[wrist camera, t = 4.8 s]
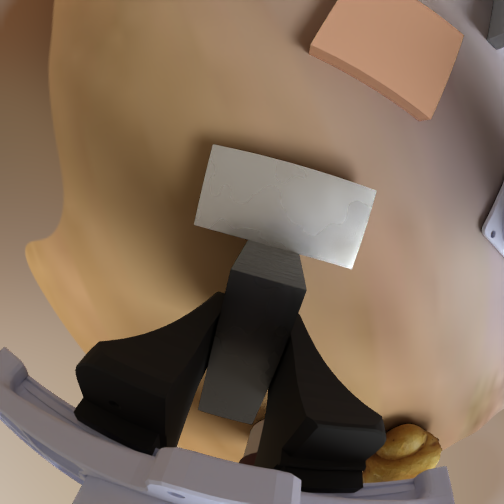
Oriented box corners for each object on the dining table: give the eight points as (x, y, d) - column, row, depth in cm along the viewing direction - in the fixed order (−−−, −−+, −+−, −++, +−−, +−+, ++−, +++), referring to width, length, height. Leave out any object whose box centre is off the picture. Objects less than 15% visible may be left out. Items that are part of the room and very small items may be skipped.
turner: (304, 367, 16) (308, 434, 10) (179, 332, 16) (142, 389, 11) (370, 189, 13) (419, 196, 7) (217, 146, 13) (178, 126, 8)
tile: (449, 43, 9) (463, 35, 8) (415, 121, 12) (430, 119, 10) (353, -17, 9) (358, -32, 7) (308, 56, 12) (310, 44, 10)
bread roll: (368, 422, 21) (376, 491, 14) (452, 402, 19) (472, 460, 12) (353, 468, 25) (355, 517, 18) (419, 454, 23) (428, 500, 16)
